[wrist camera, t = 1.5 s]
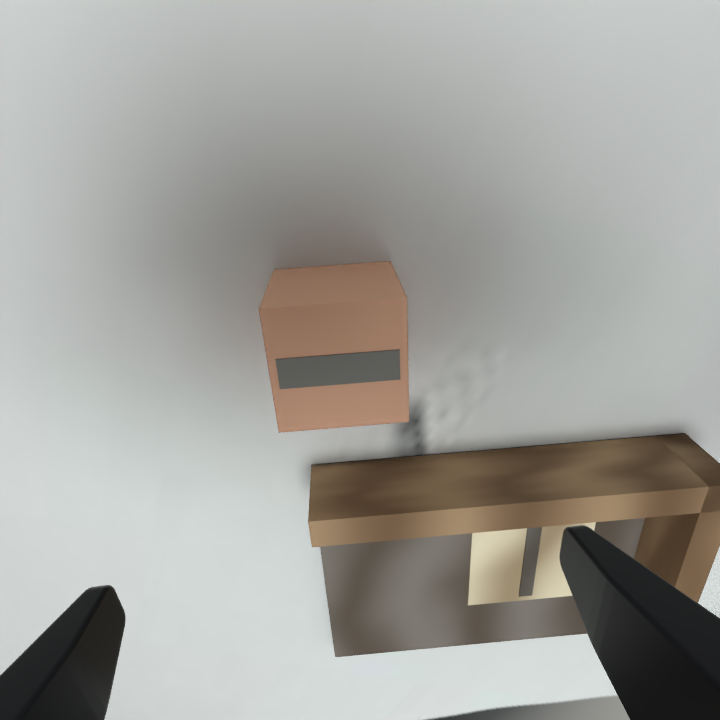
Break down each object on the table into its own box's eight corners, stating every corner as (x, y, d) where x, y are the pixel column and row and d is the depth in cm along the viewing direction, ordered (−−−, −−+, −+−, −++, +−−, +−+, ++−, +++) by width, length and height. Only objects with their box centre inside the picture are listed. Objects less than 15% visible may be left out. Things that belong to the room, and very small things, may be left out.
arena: (685, 433, 26) (743, 483, 22) (631, 617, 32) (669, 678, 29) (311, 465, 25) (308, 521, 21) (335, 645, 32) (335, 711, 28)
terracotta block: (389, 260, 21) (407, 298, 16) (393, 363, 23) (409, 422, 18) (274, 268, 20) (258, 309, 16) (288, 371, 23) (278, 433, 18)
